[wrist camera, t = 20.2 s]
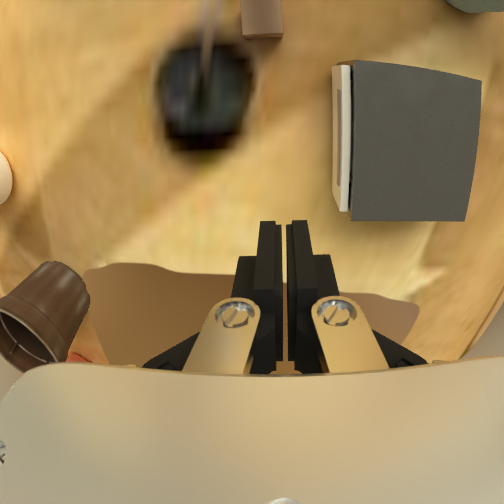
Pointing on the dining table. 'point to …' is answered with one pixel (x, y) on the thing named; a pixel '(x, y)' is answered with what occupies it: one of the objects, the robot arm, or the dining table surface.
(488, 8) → the grey green tumbler
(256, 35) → the walnut block
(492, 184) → the dining table surface
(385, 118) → the housing
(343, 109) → the white drawer
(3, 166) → the cup
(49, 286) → the plant pot
